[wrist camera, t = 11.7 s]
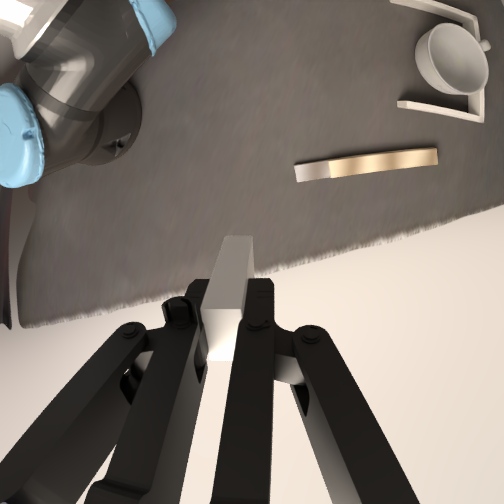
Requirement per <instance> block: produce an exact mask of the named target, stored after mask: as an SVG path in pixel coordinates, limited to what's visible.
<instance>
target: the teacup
mask: <svg viewBox="0 0 504 504" xmlns="http://www.w3.org/2000/svg"><path fill="white" fill-rule="evenodd" d="M490 49H491V46H490V44H489V42H488V41H487V40H481V41H477V40H476V39H475V38H474V37H473V35H472V34H471V33H469V32H468V31H467V30H466V29H464V28H462V27H461V26H458V25H456V24H452V23H442V24H439V25H437V26H435V27H434V28H433V29H431V30H430V31H428V32H427V33H425V34H424V35H423V36H422V37H421V38H420V39H419V40H418V42H417V45H416V48H415V60H416V64H417V67H418V69H419V71H420V73H421V75H422V76H423V78H424V79H425V80H426V81H427V82H428V83H429V84H430V85H431V86H432V87H434V88H435V89H437V90H439V91H441V92H444V93H447V94H464V95H474V94H476V93H479V92H480V91H481V90H482V89H483V88H484V87H485V85H486V83H487V80H488V73H489V71H488V63H487V59H486V56H485V53H484V52H485V51H487V50H490Z"/></svg>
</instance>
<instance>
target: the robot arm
mask: <svg viewBox="0 0 504 504" xmlns="http://www.w3.org/2000/svg"><path fill="white" fill-rule="evenodd" d="M176 23H177V21H176V17H175V15H174V13H173V11H172V10H171V8H170V7H169V6H168V5H167V3H166V2H165V1H164V0H0V35H2V36H5V37H8V38H10V40H11V41H12V46H13V50H14V55H15V58H17V59H19V60H22V61H25V62H26V63H25V64H24V66H23V68H22V69H21V71H20V72H19V74H18V76H17V78H16V79H15V81H14V82H13V83H5V84H3V85H1V86H0V184H1V185H3V186H5V187H11V188H17V187H20V186H24V185H27V184H32V183H34V182H37V180H39V179H40V178H42V177H45V176H47V175H49V174H51V173H54V172H56V171H58V170H61V169H63V168H66V167H68V166H70V165H73V164H75V163H81V164H86V165H102V164H106V163H108V162H111V161H113V160H115V159H117V158H119V157H121V156H122V155H123V154H124V153H126V152H127V151H128V149H129V148H130V147H131V146H132V144H133V143H134V141H135V139H136V137H137V135H138V132H139V129H140V125H141V114H142V113H141V104H140V100H139V97H138V95H137V93H136V91H135V89H134V88H133V86H132V85H131V84H130V83H129V82H128V79H129V78H130V77H131V76H132V75H133V74H134V73H135V72H136V71H137V70H138V69H139V67H140V66H141V65H142V64H143V63H144V62H145V61H146V60H147V59H148V58H149V57H150V56H154V55H155V53H156V50H157V49H158V48H159V47H160V46H161V45H162V44H163V43H164V42H165V41H166V40H167V39H168V38H169V37H170V36H171V35H172V33H173V32H174V31H175V28H176ZM162 310H163V314H164V318H165V321H166V323H165V325H164V327H161V328H157V329H151V330H146V328H145V326H144V325H143V324H142V323H139V322H129V323H126V324H123V325H121V326H120V327H119V328H118V329H117V330H116V331H115V332H114V333H113V334H112V335H111V336H110V337H109V338H108V339H107V340H106V341H105V342H104V343H103V345H102V346H101V347H100V348H99V349H98V350H97V351H96V352H95V353H94V354H93V355H92V356H91V358H90V359H89V360H88V361H87V362H86V363H85V364H84V365H83V366H82V367H81V369H80V370H79V371H78V372H77V373H76V374H75V375H74V376H73V377H72V379H71V380H70V381H69V382H68V383H67V384H66V385H65V386H64V388H63V389H62V390H61V391H60V392H59V393H58V394H57V395H56V397H55V398H54V399H53V400H52V401H51V402H50V404H49V405H48V406H47V407H46V408H45V409H44V410H43V412H42V413H41V414H40V415H39V416H38V418H37V419H36V420H35V421H34V422H33V424H32V425H31V426H30V427H29V428H28V429H27V431H26V432H25V433H24V434H23V435H22V437H21V438H20V439H19V440H18V442H17V443H16V444H15V445H14V447H13V448H12V449H11V450H10V451H9V453H8V454H7V455H6V456H5V458H4V459H3V460H2V461H1V463H0V504H76V502H77V501H78V499H79V498H80V496H81V495H82V494H83V492H84V491H85V489H86V488H87V486H88V485H89V483H90V482H91V480H92V479H93V477H94V476H95V475H96V473H97V472H98V470H99V469H100V467H101V466H102V464H103V463H104V461H105V460H106V458H107V457H108V455H109V454H110V452H111V451H112V450H113V448H114V447H115V445H116V447H115V450H114V453H113V456H112V458H111V461H110V464H109V467H108V470H107V473H106V475H105V477H104V478H103V479H102V480H99V481H96V482H94V483H93V484H92V485H91V487H90V489H89V490H88V493H87V496H86V499H85V501H84V504H179V502H180V497H181V491H182V487H183V482H184V477H185V472H186V467H187V463H188V458H189V453H190V448H191V444H192V439H193V434H194V429H195V425H196V420H197V416H198V410H199V406H200V402H201V397H202V393H203V388H204V383H205V379H206V374H207V369H208V367H207V361H206V359H207V354H208V353H209V358H210V360H222V361H233V362H232V368H231V374H230V381H229V387H228V394H227V400H226V407H225V413H224V419H223V426H222V432H221V439H220V445H219V452H218V459H217V465H216V471H215V478H214V484H213V491H212V497H211V501H210V504H270V484H271V460H272V431H273V392H274V380H277V381H281V382H285V383H289V384H290V387H291V390H292V393H293V395H294V398H295V401H296V404H297V407H298V409H299V412H300V415H301V418H302V421H303V423H304V426H305V429H306V432H307V435H308V437H309V440H310V443H311V446H312V448H313V451H314V454H315V457H316V459H317V462H318V465H319V468H320V470H321V473H322V476H323V479H324V481H325V484H326V487H327V489H328V492H329V495H330V498H331V500H332V503H333V504H420V503H419V501H418V499H417V497H416V495H415V493H414V491H413V489H412V487H411V485H410V483H409V481H408V479H407V477H406V475H405V473H404V471H403V469H402V467H401V466H400V464H399V462H398V460H397V458H396V456H395V454H394V452H393V450H392V448H391V446H390V444H389V443H388V441H387V439H386V437H385V435H384V433H383V431H382V429H381V427H380V426H379V424H378V422H377V420H376V418H375V416H374V414H373V413H372V411H371V409H370V407H369V405H368V403H367V402H366V400H365V398H364V396H363V394H362V392H361V391H360V389H359V387H358V385H357V383H356V382H355V380H354V378H353V376H352V374H351V372H350V371H349V369H348V367H347V365H346V364H345V362H344V360H343V358H342V356H341V355H340V353H339V351H338V349H337V348H336V346H335V344H334V343H333V341H332V339H331V337H330V335H329V333H328V332H327V331H326V330H325V329H323V328H321V327H319V326H315V325H305V326H302V327H299V328H298V329H297V330H295V331H294V332H292V331H288V330H284V329H282V328H281V327H279V326H278V325H277V324H276V322H275V320H274V283H273V282H272V281H271V279H270V278H254V260H253V239H252V235H245V236H225V237H224V240H223V243H222V246H221V249H220V252H219V255H218V257H217V260H216V263H215V266H214V269H213V272H212V275H211V278H210V279H195V280H194V281H193V282H192V283H191V284H190V285H189V286H188V289H187V291H186V293H185V296H178V297H173V298H170V299H168V300H166V301H165V302H164V303H163V304H162ZM127 369H129V370H128V371H127ZM126 371H127V372H126ZM125 372H126V373H125ZM124 373H125V374H124Z"/></svg>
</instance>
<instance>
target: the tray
mask: <svg viewBox="0 0 504 504" xmlns="http://www.w3.org/2000/svg"><path fill="white" fill-rule="evenodd" d="M390 2H391V3H395V4H400V5H404V6H408V7H412V8H416V9H420V10H423V11H427V12H430V13H434V14H437V15H440V16H443V17H446V18H449V19H452V20H455V21H458V22H460V23H462V24H463V28H464V29H466V30H467V31H468V32H469V33H471V34H472V35H473V37H474V38H475V39H476V40H477V41H480V34H479V27H478V21H477V17H476V16H474V15H471V14H469V13H467V12H464V11H461V10H459V9H456V8H454V7H451V6H448V5H445V4H442V3H439V2H436V1H433V0H390ZM397 107H400V108H407V109H413V110H420V111H426V112H431V113H437V114H442V115H447V116H452V117H456V118H461V119H465V120H469V121H474V122H480V123H484V88H483V89H482V90H481V91H480V92H479V93H476V94H474V95H468V113H465V112H461V111H457V110H453V109H448V108H443V107H438V106H433V105H428V104H422V103H417V102H411V101H397Z"/></svg>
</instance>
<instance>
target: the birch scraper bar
mask: <svg viewBox="0 0 504 504" xmlns="http://www.w3.org/2000/svg"><path fill="white" fill-rule="evenodd" d="M436 164H438V161H437V149H436V148H433V147H431V148H419V149H408V150H398V151H389V152H380V153H372V154H364V155H356V156H349V157H342V158H335V159H328V160H322V161H315V162H309V163H303V164H297V165H294V168H295V173H296V178H297V182H303V181H309V180H315V179H321V178H327V177H331V178H335V177H341V176H348V175H354V174H361V173H369V172H376V171H384V170H391V169H400V168H408V167H417V166H426V165H436Z"/></svg>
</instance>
